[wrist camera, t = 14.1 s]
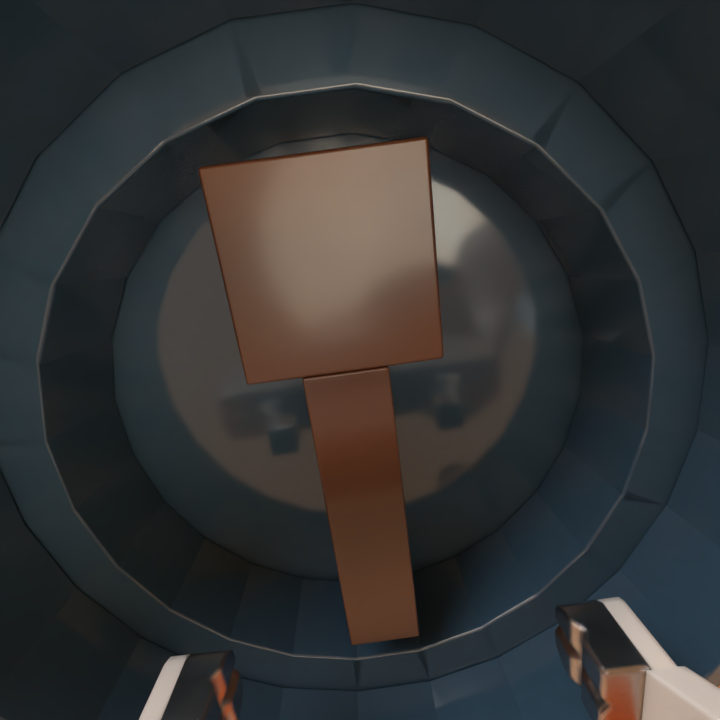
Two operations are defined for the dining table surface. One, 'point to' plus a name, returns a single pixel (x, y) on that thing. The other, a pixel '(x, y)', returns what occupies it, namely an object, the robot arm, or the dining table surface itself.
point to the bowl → (408, 381)
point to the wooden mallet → (339, 333)
